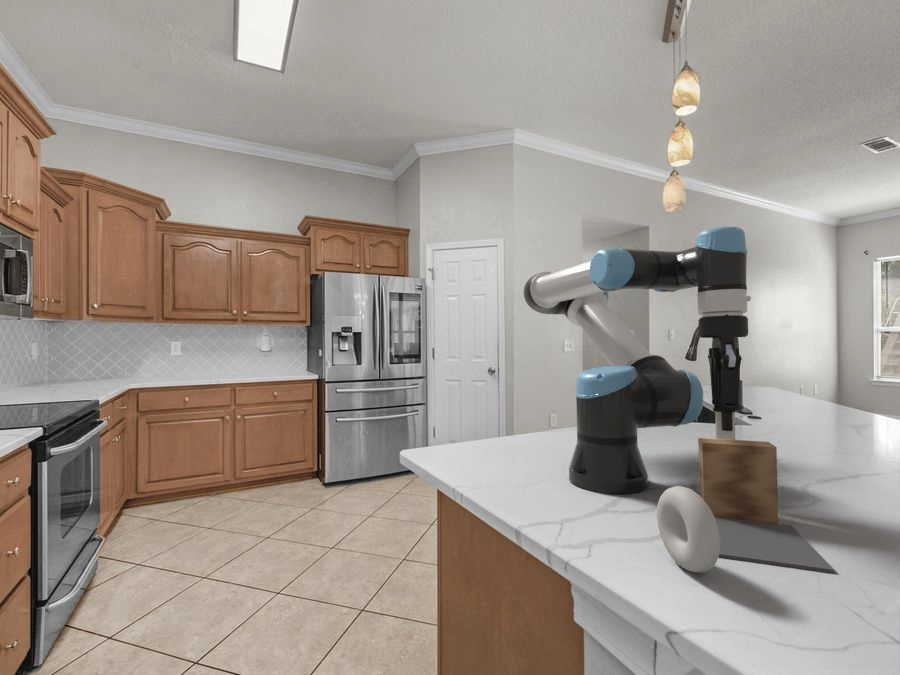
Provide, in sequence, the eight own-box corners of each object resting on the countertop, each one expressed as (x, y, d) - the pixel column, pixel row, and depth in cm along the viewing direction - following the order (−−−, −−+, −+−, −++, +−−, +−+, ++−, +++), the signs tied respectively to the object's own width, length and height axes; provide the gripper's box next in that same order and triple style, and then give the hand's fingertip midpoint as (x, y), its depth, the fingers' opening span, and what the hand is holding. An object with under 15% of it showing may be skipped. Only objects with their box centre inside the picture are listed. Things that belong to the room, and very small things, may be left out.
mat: (711, 555, 58) (711, 552, 58) (694, 516, 71) (694, 514, 71) (834, 573, 53) (834, 569, 53) (791, 527, 66) (791, 525, 66)
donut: (652, 550, 59) (650, 476, 60) (676, 548, 60) (674, 475, 60) (700, 591, 49) (698, 502, 50) (728, 589, 50) (726, 501, 50)
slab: (704, 517, 71) (702, 442, 71) (699, 508, 74) (698, 437, 75) (778, 525, 67) (776, 447, 67) (769, 515, 71) (768, 441, 71)
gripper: (758, 312, 71) (762, 458, 70) (737, 317, 83) (740, 441, 82) (705, 314, 73) (708, 455, 73) (692, 318, 85) (695, 439, 85)
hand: (725, 448), depth 77 cm, fingers closed
